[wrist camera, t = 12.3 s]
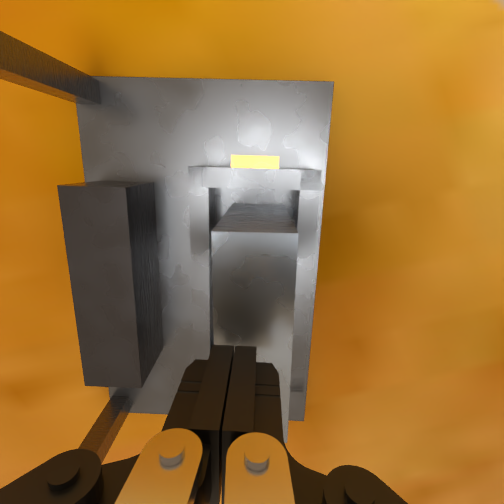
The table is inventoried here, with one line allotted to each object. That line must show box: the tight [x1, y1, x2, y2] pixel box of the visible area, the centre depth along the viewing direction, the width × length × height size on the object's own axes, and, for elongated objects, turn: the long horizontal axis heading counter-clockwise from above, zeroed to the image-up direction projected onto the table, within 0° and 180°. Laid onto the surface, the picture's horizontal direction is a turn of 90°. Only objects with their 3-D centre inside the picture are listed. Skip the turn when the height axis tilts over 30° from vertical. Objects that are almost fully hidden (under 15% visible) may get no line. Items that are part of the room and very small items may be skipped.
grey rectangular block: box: [211, 203, 298, 443], centre depth 16 cm, size 3×9×8 cm, turn 179°
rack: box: [0, 31, 334, 464], centre depth 16 cm, size 14×22×9 cm, turn 178°
